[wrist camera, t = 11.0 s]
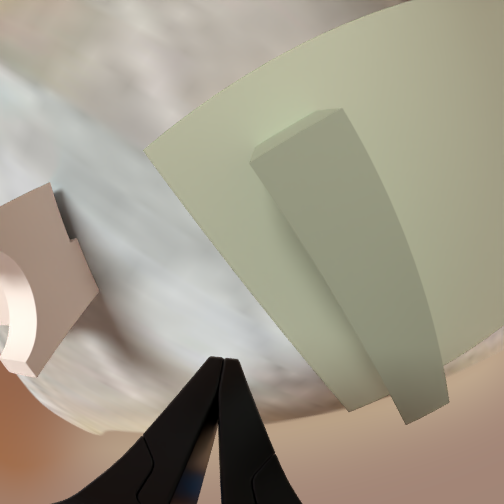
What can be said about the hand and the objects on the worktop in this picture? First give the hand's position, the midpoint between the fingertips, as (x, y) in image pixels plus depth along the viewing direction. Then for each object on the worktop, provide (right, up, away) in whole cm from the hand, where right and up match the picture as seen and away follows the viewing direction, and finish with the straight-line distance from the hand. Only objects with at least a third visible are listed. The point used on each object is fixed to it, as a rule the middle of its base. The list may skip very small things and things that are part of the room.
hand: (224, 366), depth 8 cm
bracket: (-15, +3, +8) cm, 17 cm away
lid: (+12, +8, -2) cm, 14 cm away
